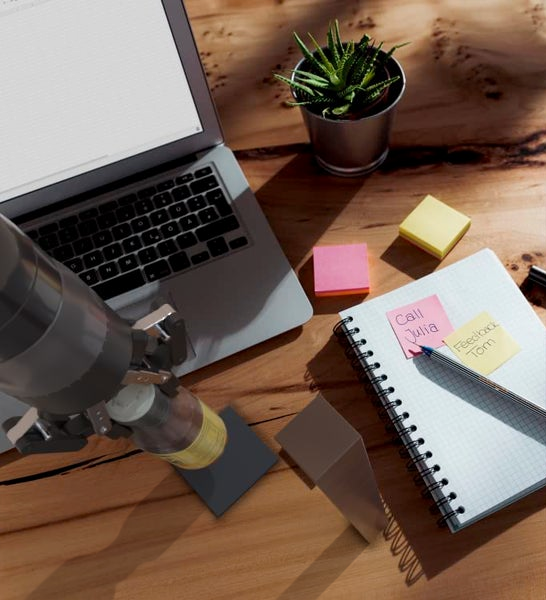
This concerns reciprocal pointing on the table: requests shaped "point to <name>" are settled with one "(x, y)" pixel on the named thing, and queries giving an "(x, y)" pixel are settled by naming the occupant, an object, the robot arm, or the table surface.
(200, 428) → the sauce bottle
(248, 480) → the mat
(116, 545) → the table surface
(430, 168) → the table surface
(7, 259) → the robot arm
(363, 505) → the walnut post
